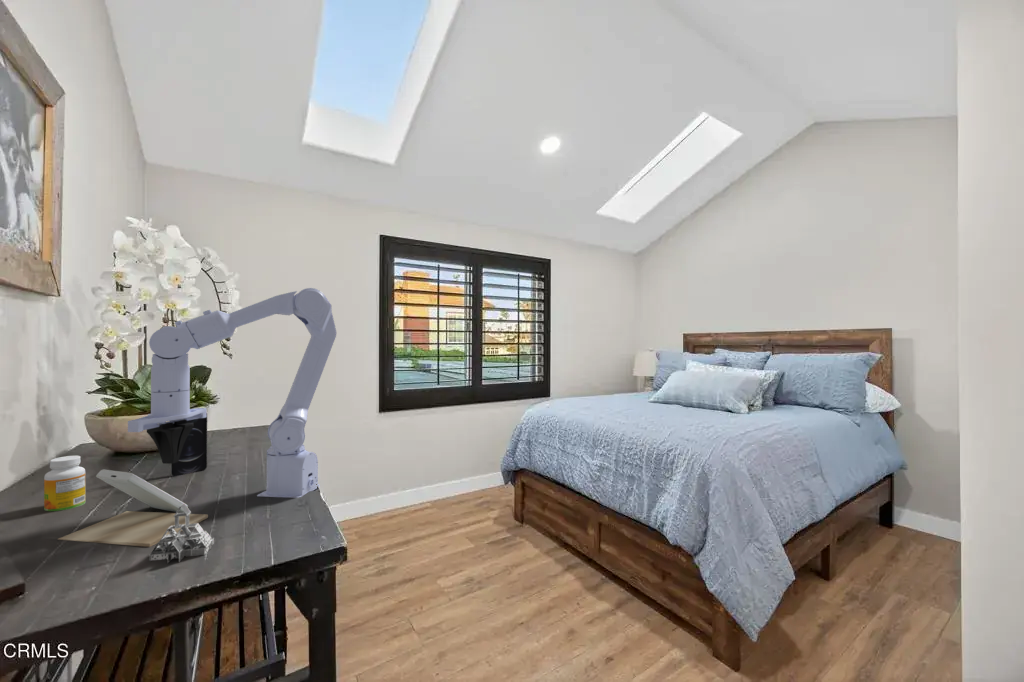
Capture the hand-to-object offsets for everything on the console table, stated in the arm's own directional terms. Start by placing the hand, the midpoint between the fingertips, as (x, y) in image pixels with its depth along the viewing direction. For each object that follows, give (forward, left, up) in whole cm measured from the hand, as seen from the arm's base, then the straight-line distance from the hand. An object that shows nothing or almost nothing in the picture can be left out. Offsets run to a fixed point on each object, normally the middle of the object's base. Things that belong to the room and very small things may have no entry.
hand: (170, 462), depth 80 cm
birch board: (-2, +8, -9) cm, 12 cm away
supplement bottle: (+20, +2, -9) cm, 22 cm away
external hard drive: (0, 0, -8) cm, 9 cm away
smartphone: (+15, -20, -9) cm, 27 cm away
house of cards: (-17, +17, -10) cm, 26 cm away
